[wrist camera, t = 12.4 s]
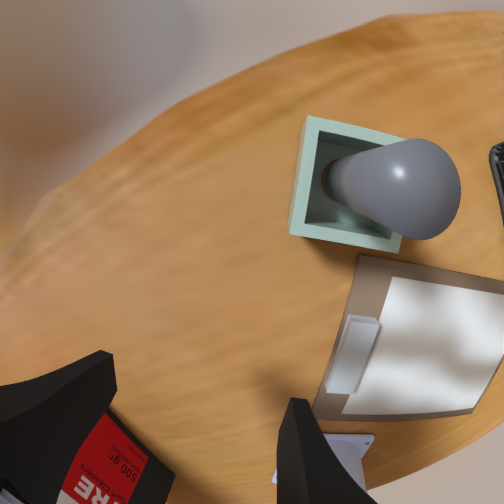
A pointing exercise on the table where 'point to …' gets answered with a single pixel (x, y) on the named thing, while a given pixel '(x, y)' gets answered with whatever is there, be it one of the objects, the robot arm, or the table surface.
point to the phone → (498, 172)
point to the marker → (398, 187)
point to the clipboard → (412, 344)
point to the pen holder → (316, 200)
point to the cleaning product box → (115, 469)
